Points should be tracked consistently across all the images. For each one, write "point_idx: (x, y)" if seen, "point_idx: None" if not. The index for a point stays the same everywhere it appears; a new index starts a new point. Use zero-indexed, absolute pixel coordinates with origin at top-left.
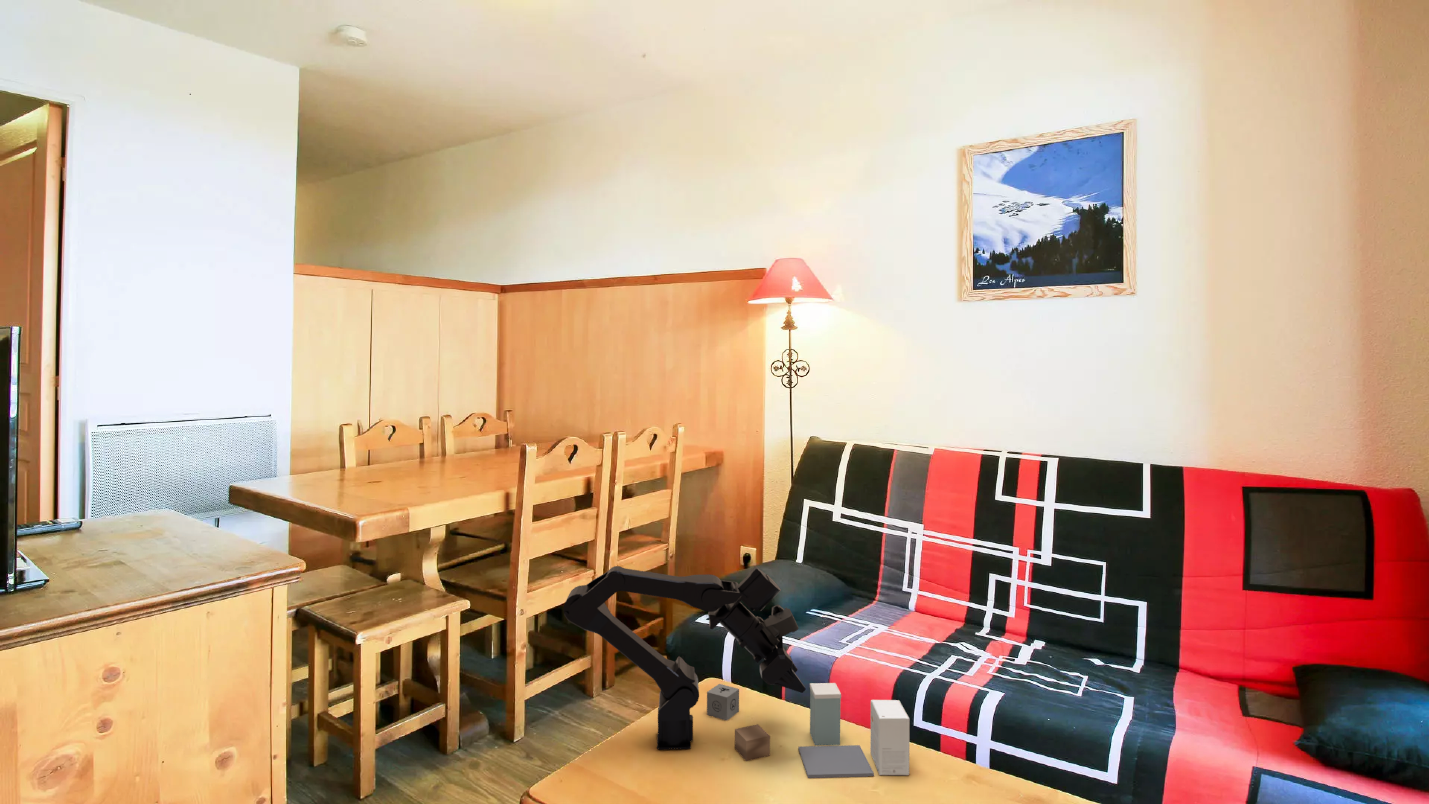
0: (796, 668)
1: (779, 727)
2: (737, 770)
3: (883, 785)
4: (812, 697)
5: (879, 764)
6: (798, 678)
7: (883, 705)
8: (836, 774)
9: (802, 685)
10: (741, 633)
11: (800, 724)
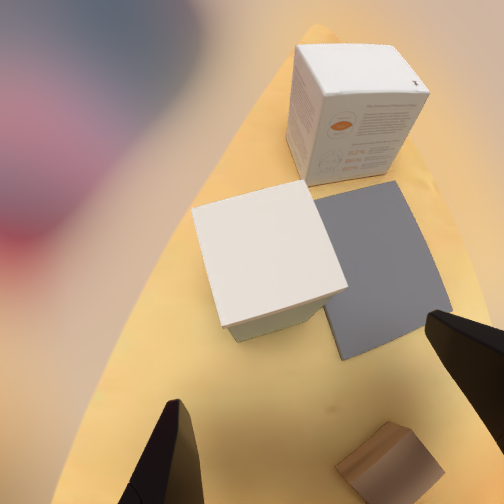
0: (179, 406)
1: (225, 430)
2: (454, 460)
3: (411, 170)
4: (276, 313)
5: (392, 161)
6: (493, 334)
7: (352, 72)
8: (429, 251)
9: (462, 319)
10: None
11: (191, 373)
